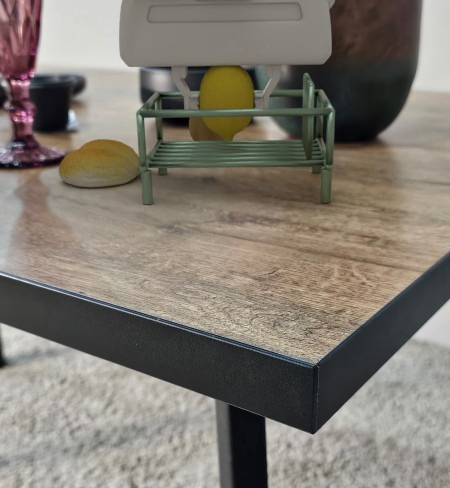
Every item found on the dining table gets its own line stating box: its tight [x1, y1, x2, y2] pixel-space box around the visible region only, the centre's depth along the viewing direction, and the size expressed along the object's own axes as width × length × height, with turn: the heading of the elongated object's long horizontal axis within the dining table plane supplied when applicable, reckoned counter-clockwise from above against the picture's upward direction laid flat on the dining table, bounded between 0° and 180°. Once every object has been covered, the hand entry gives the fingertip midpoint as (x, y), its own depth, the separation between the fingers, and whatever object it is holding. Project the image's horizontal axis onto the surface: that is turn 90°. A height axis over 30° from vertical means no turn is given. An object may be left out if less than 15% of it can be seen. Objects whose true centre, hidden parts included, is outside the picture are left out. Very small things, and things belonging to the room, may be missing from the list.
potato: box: [188, 117, 234, 141], centre depth 88 cm, size 7×8×8 cm
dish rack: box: [135, 72, 336, 205], centre depth 74 cm, size 18×13×11 cm
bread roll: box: [58, 138, 141, 189], centre depth 80 cm, size 8×9×4 cm
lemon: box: [199, 66, 255, 141], centre depth 73 cm, size 6×6×8 cm
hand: (226, 113), depth 74 cm, fingers closed on lemon, 5 cm apart
